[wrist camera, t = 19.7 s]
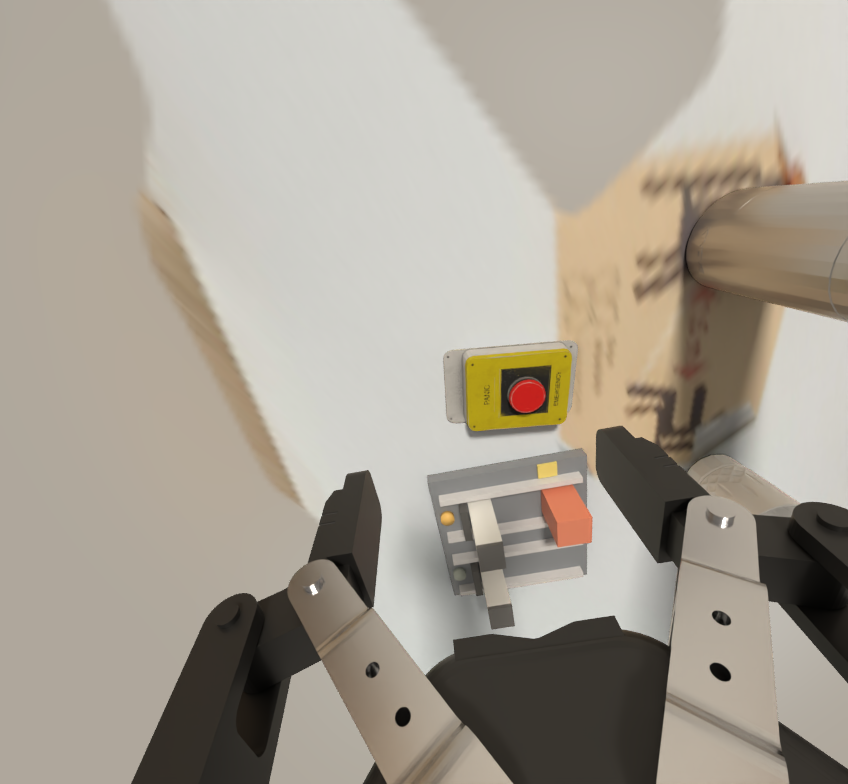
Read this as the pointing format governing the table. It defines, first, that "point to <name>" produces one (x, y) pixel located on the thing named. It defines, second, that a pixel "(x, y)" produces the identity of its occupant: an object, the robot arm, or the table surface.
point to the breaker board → (509, 519)
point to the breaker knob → (497, 599)
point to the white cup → (741, 486)
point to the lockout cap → (566, 516)
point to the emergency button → (510, 385)
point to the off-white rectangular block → (487, 536)
